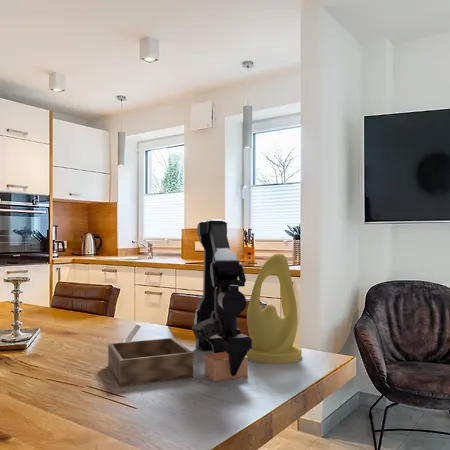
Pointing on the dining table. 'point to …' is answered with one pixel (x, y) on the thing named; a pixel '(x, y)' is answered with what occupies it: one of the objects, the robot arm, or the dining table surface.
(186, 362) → the big crate
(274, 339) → the sculpture
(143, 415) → the dining table surface
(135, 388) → the dining table surface
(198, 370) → the dining table surface
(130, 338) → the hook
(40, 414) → the dining table surface
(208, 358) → the small crate
